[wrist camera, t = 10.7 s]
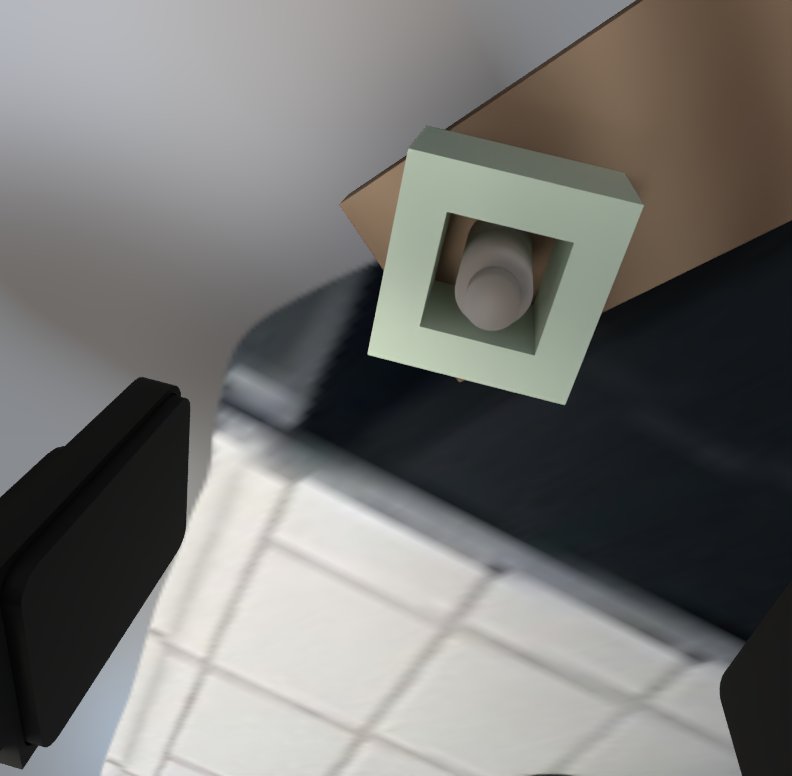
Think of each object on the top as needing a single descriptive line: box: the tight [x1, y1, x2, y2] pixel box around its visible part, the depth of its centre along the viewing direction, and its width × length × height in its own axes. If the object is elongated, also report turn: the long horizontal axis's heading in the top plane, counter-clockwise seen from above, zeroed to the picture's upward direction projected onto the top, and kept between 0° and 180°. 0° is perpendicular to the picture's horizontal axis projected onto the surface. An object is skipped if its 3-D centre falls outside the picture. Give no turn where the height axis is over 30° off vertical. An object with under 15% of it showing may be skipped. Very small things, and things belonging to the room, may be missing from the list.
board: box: [339, 0, 792, 383], centre depth 17 cm, size 23×8×8 cm, turn 124°
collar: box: [368, 126, 644, 405], centre depth 21 cm, size 6×6×4 cm
